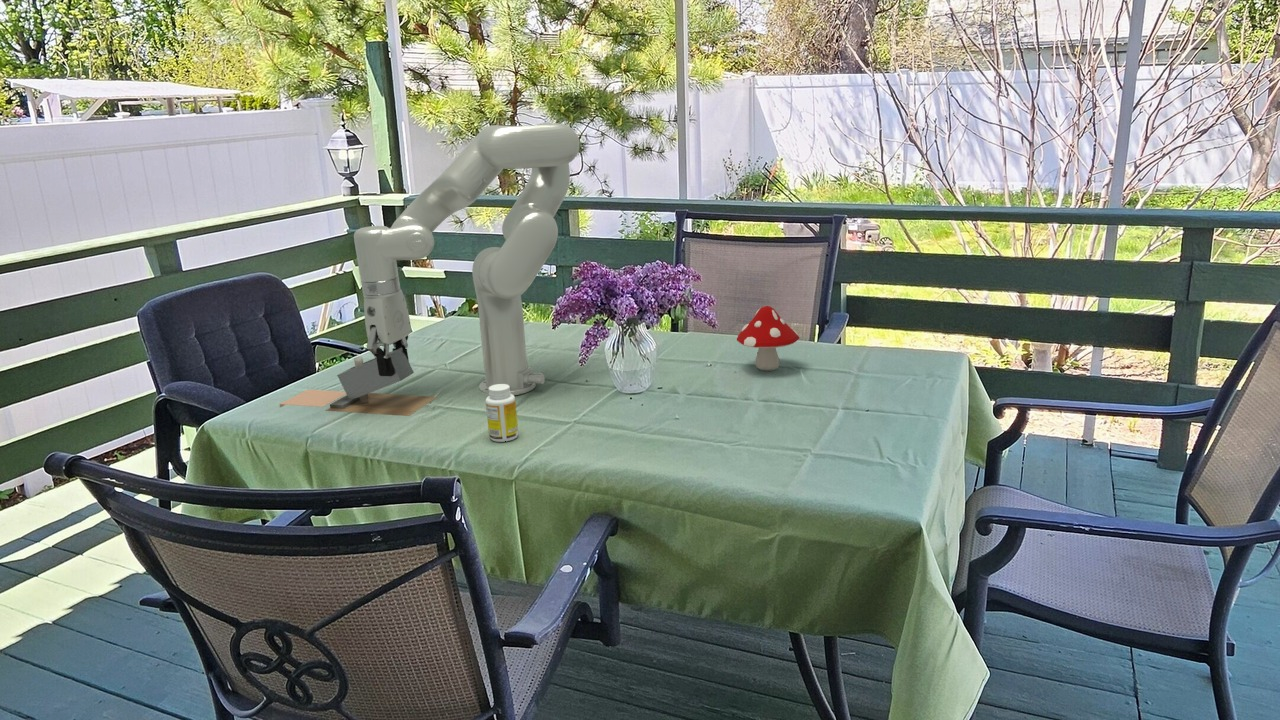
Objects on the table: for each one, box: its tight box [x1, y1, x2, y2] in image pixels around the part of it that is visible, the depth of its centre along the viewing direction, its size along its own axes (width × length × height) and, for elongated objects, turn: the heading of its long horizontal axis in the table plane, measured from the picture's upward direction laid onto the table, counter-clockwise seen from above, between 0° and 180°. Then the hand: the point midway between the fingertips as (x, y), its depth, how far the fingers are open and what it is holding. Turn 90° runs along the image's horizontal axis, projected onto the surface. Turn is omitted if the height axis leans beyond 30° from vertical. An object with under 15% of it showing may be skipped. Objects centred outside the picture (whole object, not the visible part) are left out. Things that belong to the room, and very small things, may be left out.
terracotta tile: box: [279, 389, 347, 408], centre depth 198 cm, size 11×10×1 cm
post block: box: [325, 356, 438, 417], centre depth 191 cm, size 20×12×11 cm, turn 73°
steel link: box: [336, 347, 415, 400], centre depth 191 cm, size 14×5×6 cm, turn 73°
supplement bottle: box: [485, 384, 519, 443], centre depth 170 cm, size 6×6×10 cm
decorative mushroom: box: [736, 305, 800, 372], centre depth 203 cm, size 14×14×15 cm
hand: (394, 370), depth 189 cm, fingers closed on steel link, 5 cm apart
